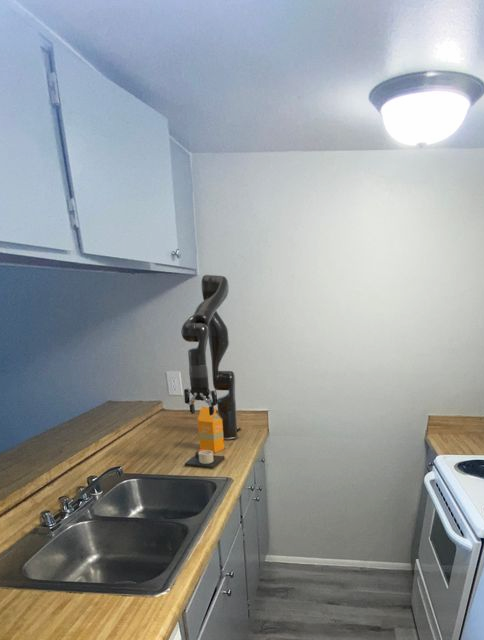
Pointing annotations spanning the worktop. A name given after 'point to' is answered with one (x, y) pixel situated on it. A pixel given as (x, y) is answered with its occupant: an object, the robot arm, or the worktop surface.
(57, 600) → the worktop surface
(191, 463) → the scale
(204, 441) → the orange juice
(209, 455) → the bowl
